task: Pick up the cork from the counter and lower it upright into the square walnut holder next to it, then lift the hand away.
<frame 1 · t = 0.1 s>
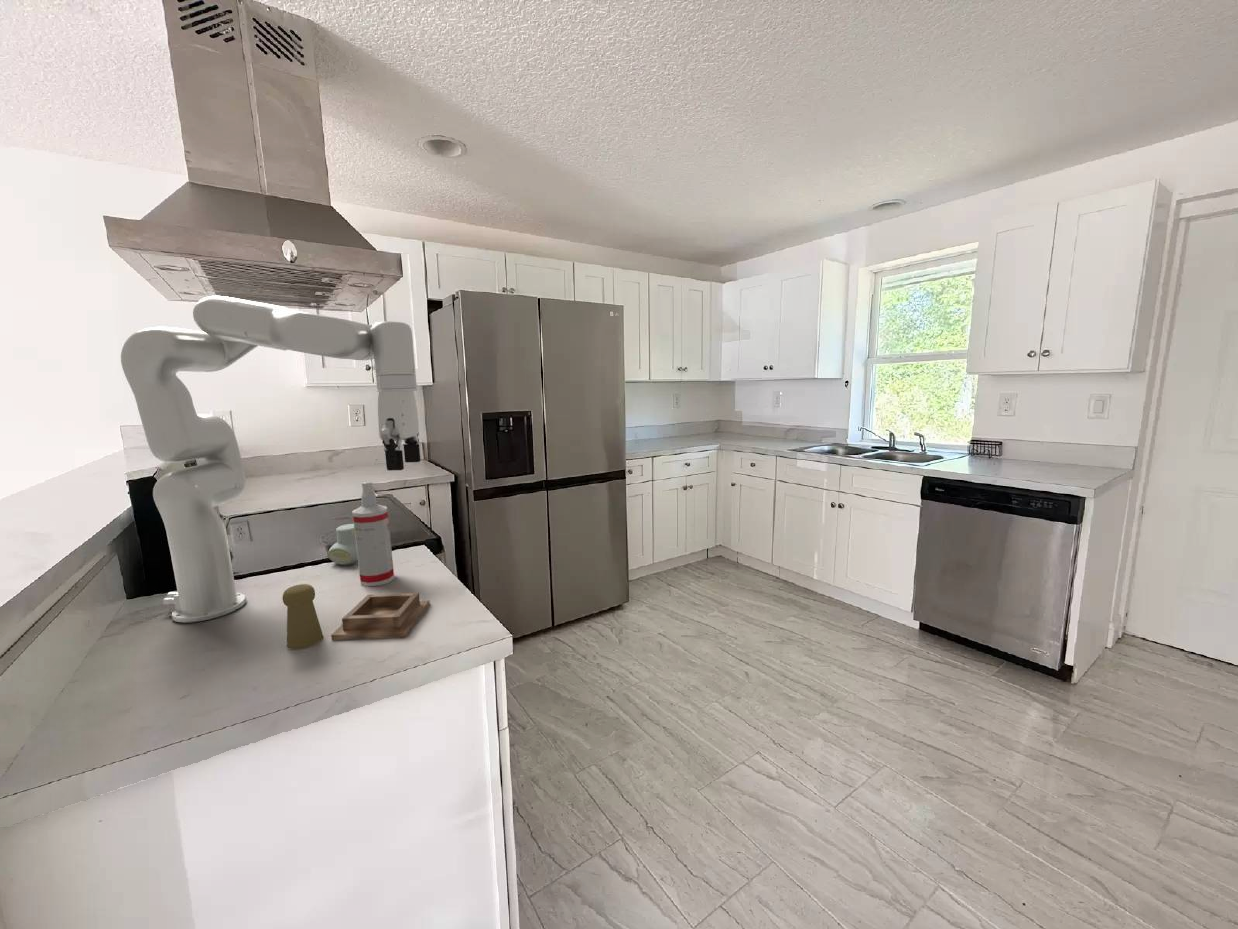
hand: (404, 465, 105), 31 cm above the countertop, tool pointing down, fingers open, 9 cm apart
cork: (305, 641, 95), on the countertop
pale green rounded piece: (352, 562, 137), on the countertop
white squeeze bottle: (377, 580, 123), on the countertop
walnut holder: (384, 621, 102), on the countertop
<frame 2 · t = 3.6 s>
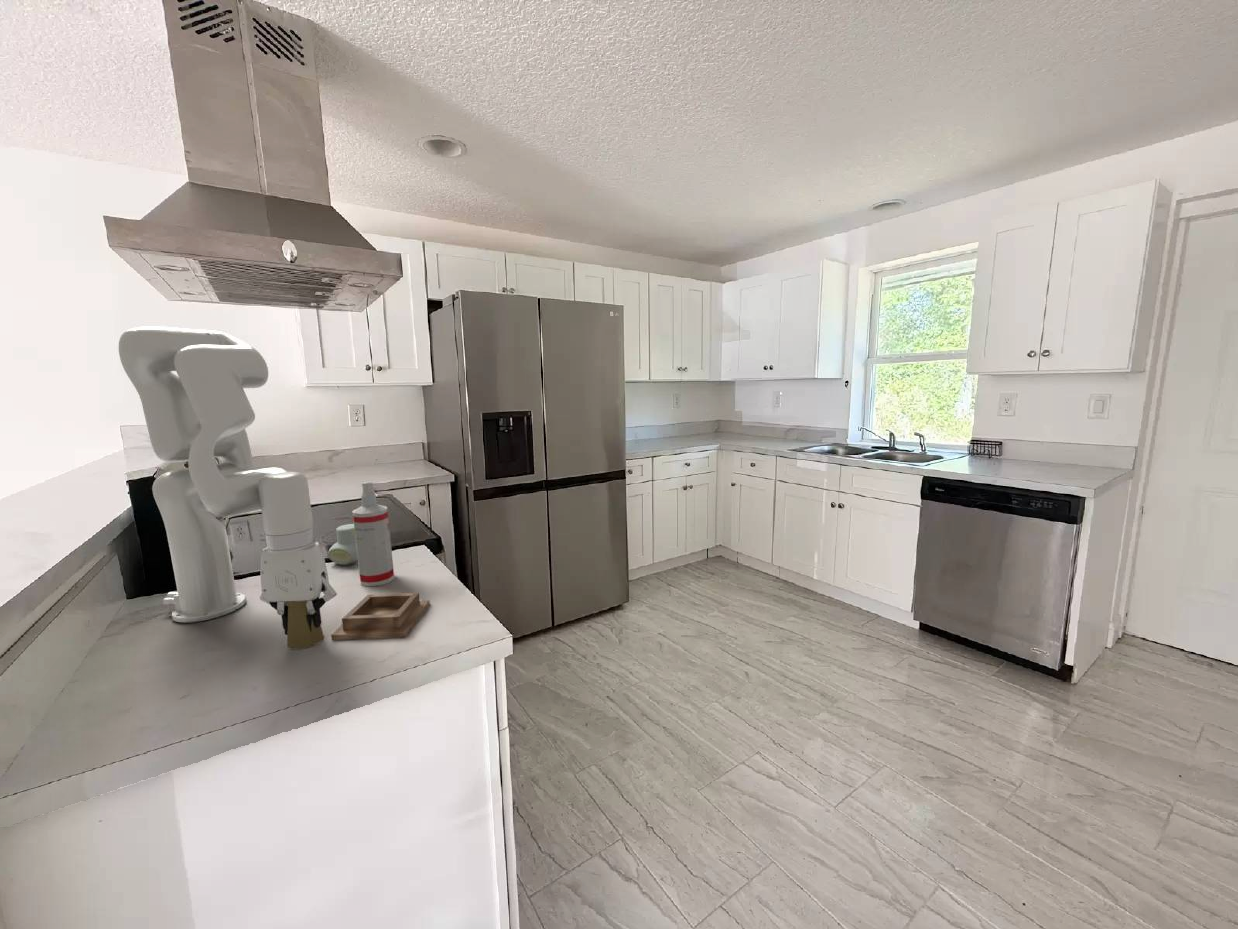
hand: (303, 630, 94), 2 cm above the countertop, tool pointing down, fingers closed on cork, 3 cm apart
cork: (305, 641, 95), on the countertop, touching gripper
everything else where it was.
when the fingers open (5 cm above the countertop, at t = 9.0 s): cork drops 1 cm, point 1 cm above the countertop.
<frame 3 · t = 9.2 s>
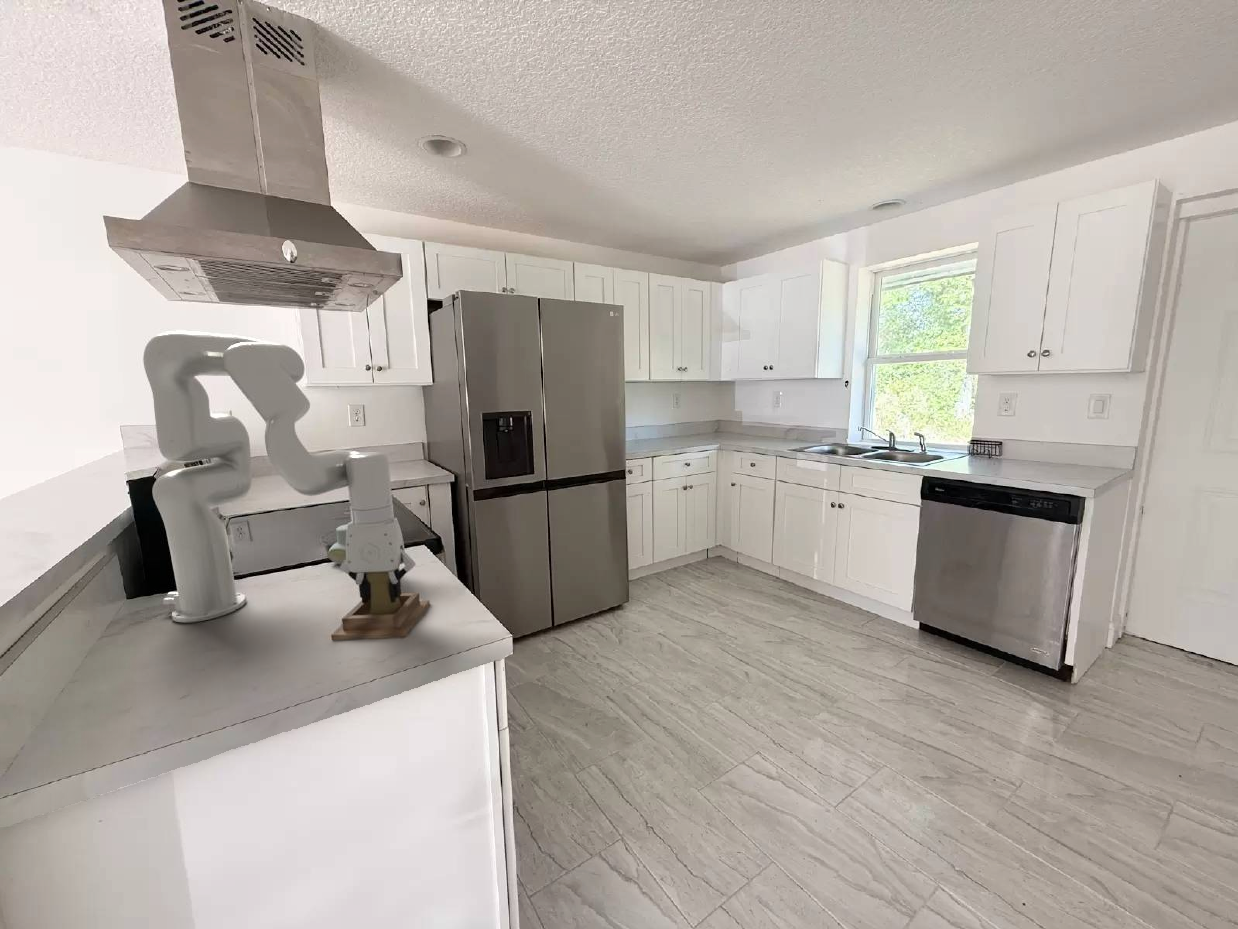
hand: (381, 599, 101), 5 cm above the countertop, tool pointing down, fingers open, 5 cm apart
cork: (387, 616, 102), point 1 cm above the countertop, touching gripper
everything else where it was.
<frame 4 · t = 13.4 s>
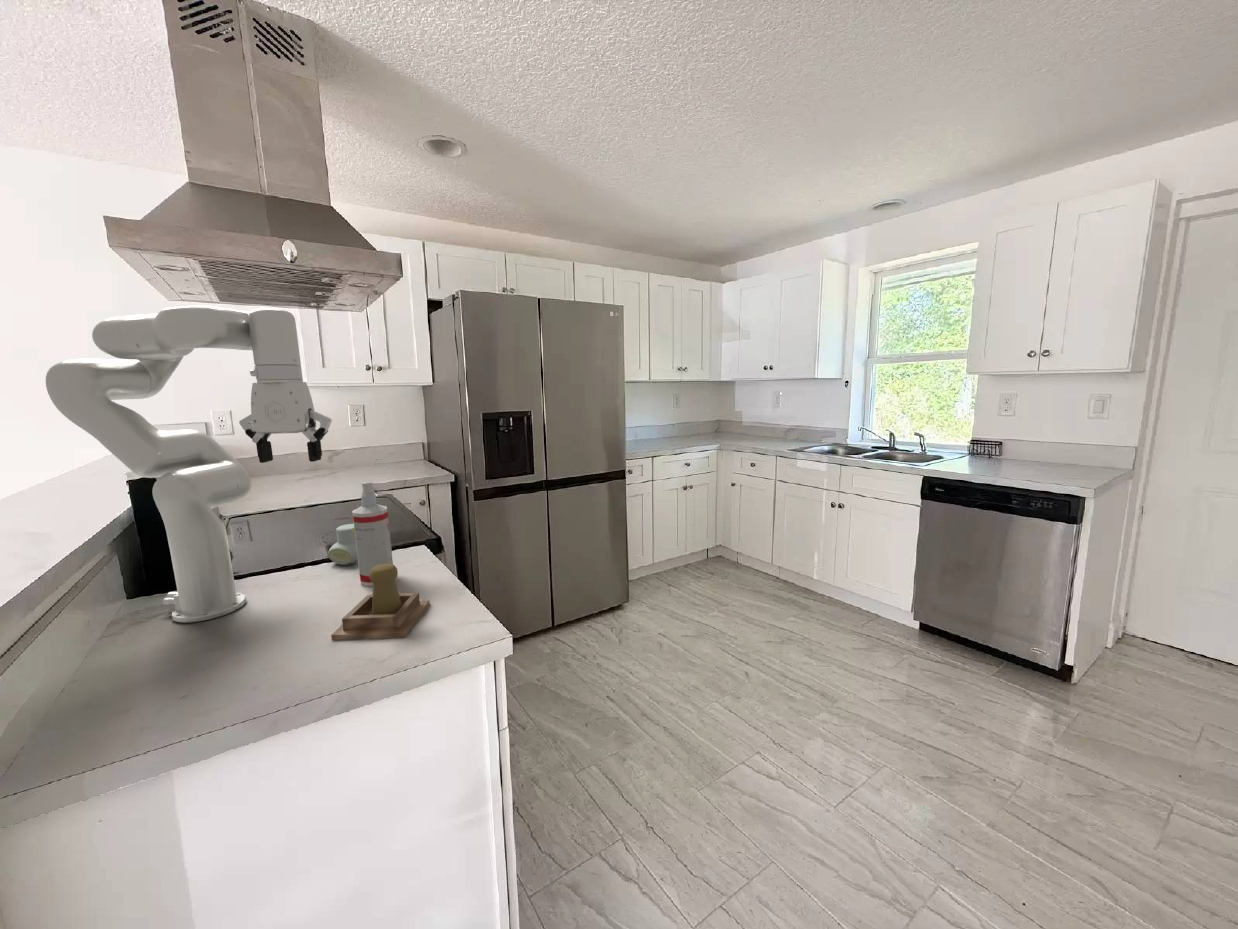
hand: (291, 461, 100), 33 cm above the countertop, tool pointing down, fingers open, 9 cm apart
cork: (388, 617, 102), point 1 cm above the countertop, touching walnut holder
everything else where it was.
at the end: cork 0.8 cm off-centre on the walnut holder, point 0.8 cm above the walnut holder's base; cork tilted 0°; the gripper is holding nothing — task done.
